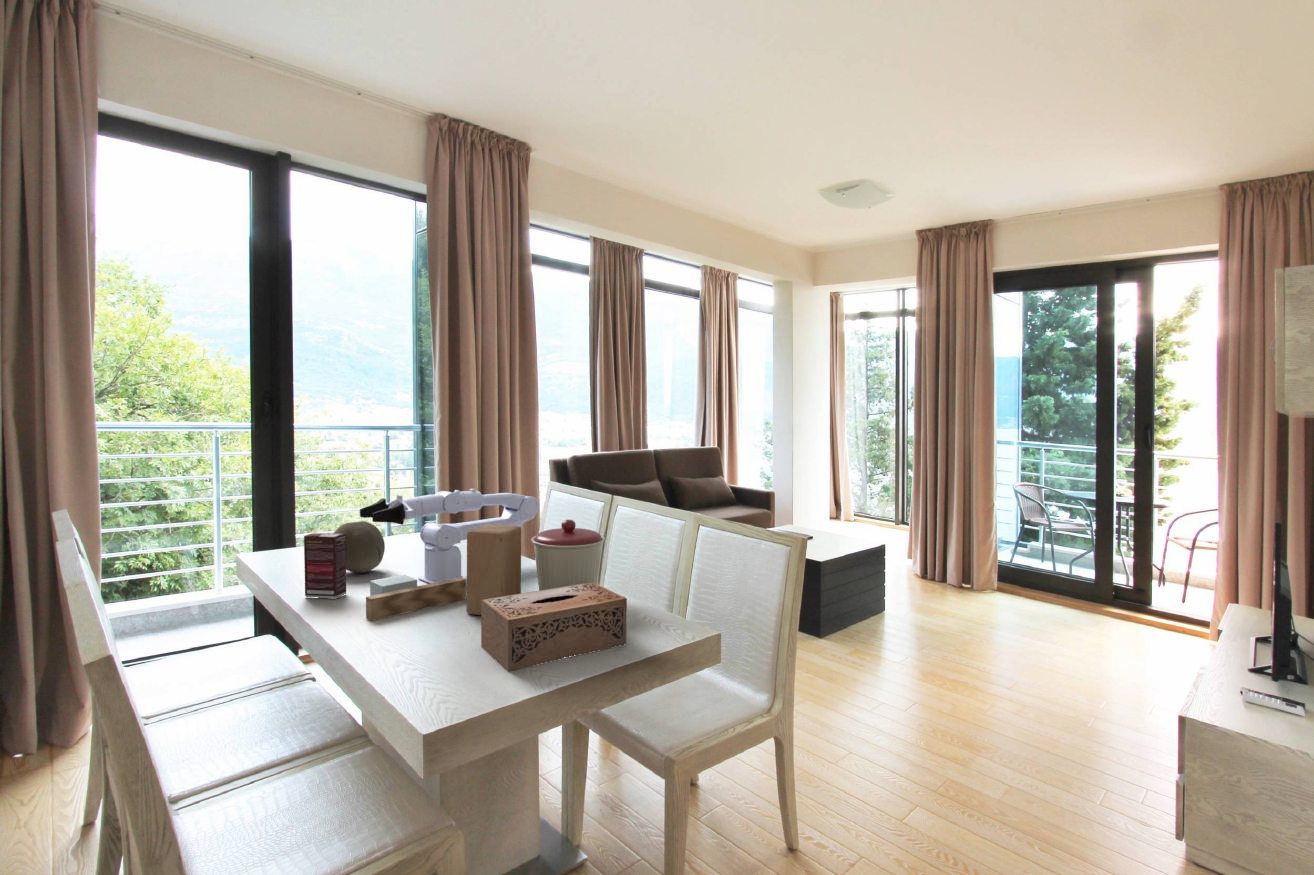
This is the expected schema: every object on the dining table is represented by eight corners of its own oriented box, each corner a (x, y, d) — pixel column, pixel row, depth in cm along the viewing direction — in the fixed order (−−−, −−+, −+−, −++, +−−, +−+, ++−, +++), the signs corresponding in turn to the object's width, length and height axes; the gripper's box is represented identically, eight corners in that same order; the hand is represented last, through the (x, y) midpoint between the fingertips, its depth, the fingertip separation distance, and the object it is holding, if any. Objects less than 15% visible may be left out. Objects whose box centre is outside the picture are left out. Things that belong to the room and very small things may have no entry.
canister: (516, 602, 161) (517, 518, 160) (574, 588, 173) (575, 511, 172) (559, 620, 148) (560, 529, 147) (618, 604, 160) (620, 520, 159)
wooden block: (504, 618, 148) (505, 532, 147) (464, 615, 150) (465, 530, 149) (522, 605, 158) (522, 525, 157) (484, 602, 160) (485, 523, 159)
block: (404, 591, 169) (404, 574, 169) (417, 597, 164) (417, 579, 164) (370, 598, 163) (370, 580, 162) (382, 604, 158) (382, 586, 158)
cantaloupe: (376, 564, 195) (375, 515, 195) (390, 574, 184) (390, 522, 184) (325, 571, 186) (324, 520, 186) (337, 582, 175) (337, 528, 175)
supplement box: (347, 594, 165) (347, 533, 164) (336, 600, 160) (335, 536, 159) (315, 592, 166) (315, 531, 165) (303, 598, 161) (302, 535, 160)
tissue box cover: (592, 625, 146) (593, 582, 145) (626, 645, 134) (626, 598, 133) (481, 648, 131) (481, 599, 130) (507, 673, 119) (507, 620, 119)
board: (460, 596, 164) (460, 577, 164) (465, 598, 163) (466, 579, 162) (366, 618, 147) (365, 596, 147) (370, 621, 145) (370, 599, 145)
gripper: (404, 489, 179) (354, 496, 169) (429, 496, 169) (377, 503, 159) (405, 514, 180) (355, 522, 170) (430, 522, 170) (379, 531, 160)
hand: (366, 515), depth 165 cm, fingers open, 7 cm apart
